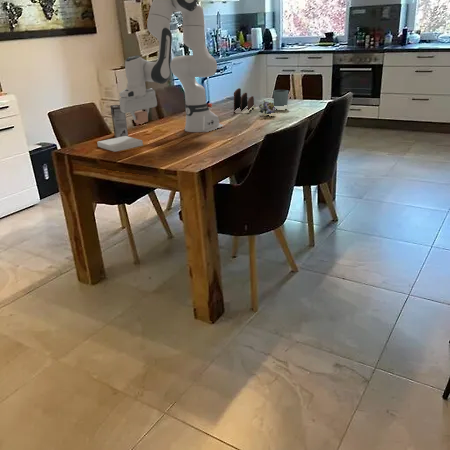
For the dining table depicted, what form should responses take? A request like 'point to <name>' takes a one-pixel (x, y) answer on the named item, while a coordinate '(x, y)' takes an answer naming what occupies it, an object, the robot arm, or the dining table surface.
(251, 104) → the letter holder
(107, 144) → the base plate
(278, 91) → the grey tapered pot
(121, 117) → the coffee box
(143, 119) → the terracotta block
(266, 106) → the passion flower
